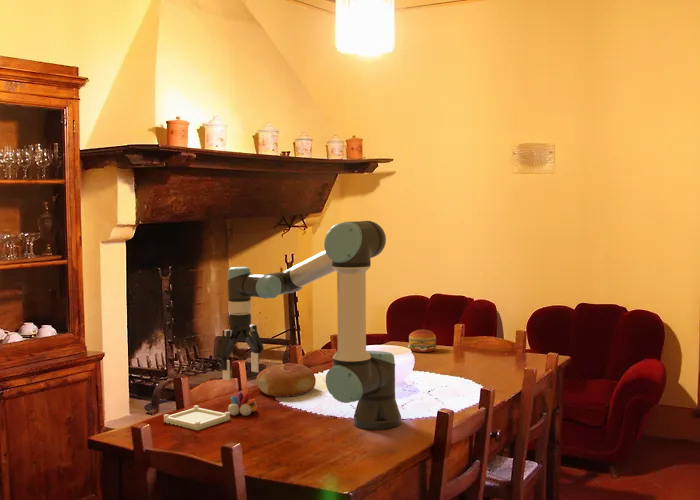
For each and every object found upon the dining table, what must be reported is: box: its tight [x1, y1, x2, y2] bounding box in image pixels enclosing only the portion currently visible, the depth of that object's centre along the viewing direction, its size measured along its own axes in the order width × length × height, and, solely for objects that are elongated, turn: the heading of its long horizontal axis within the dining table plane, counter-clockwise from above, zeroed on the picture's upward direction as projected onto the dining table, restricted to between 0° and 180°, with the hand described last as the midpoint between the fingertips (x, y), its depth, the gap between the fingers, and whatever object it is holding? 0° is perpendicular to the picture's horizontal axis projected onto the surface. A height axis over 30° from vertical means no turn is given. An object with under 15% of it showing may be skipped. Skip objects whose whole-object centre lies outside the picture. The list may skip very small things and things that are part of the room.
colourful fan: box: [227, 391, 258, 417], centre depth 263 cm, size 8×10×7 cm
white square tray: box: [163, 405, 231, 431], centre depth 254 cm, size 17×15×2 cm
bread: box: [255, 362, 317, 398], centre depth 292 cm, size 23×23×10 cm
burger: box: [407, 329, 438, 353], centre depth 363 cm, size 13×14×10 cm
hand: (240, 375), depth 262 cm, fingers open, 13 cm apart
